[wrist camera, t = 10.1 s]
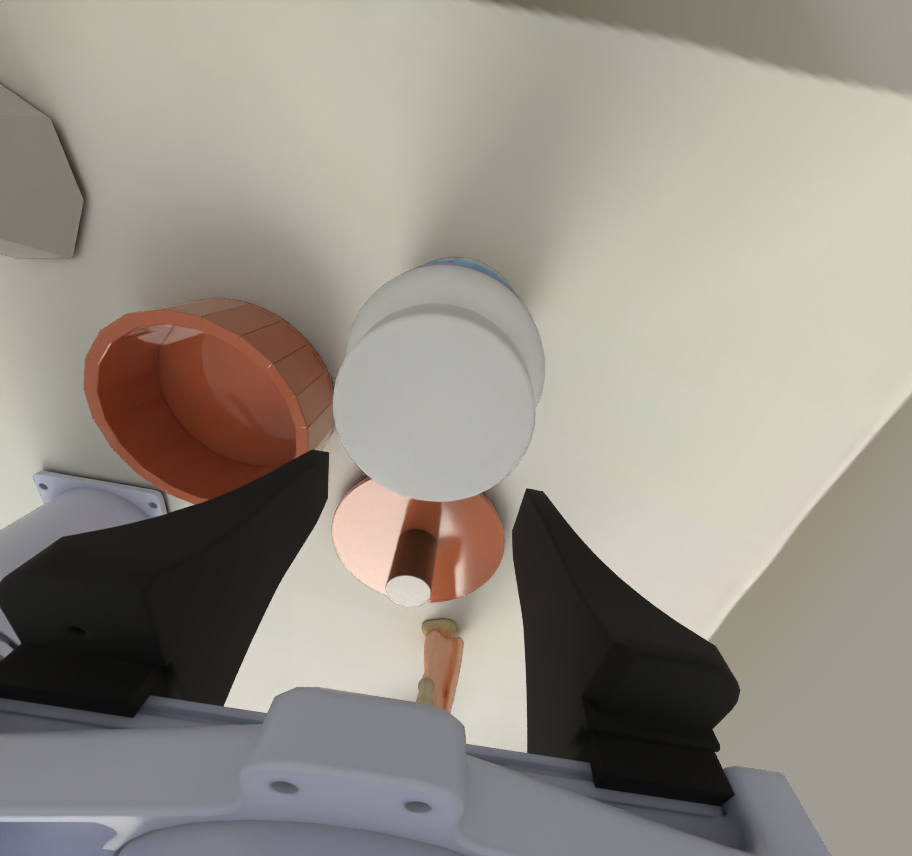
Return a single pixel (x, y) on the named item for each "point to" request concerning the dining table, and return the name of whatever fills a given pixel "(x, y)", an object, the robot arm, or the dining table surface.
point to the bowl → (207, 395)
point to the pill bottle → (440, 382)
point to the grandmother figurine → (440, 664)
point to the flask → (34, 185)
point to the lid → (417, 543)
